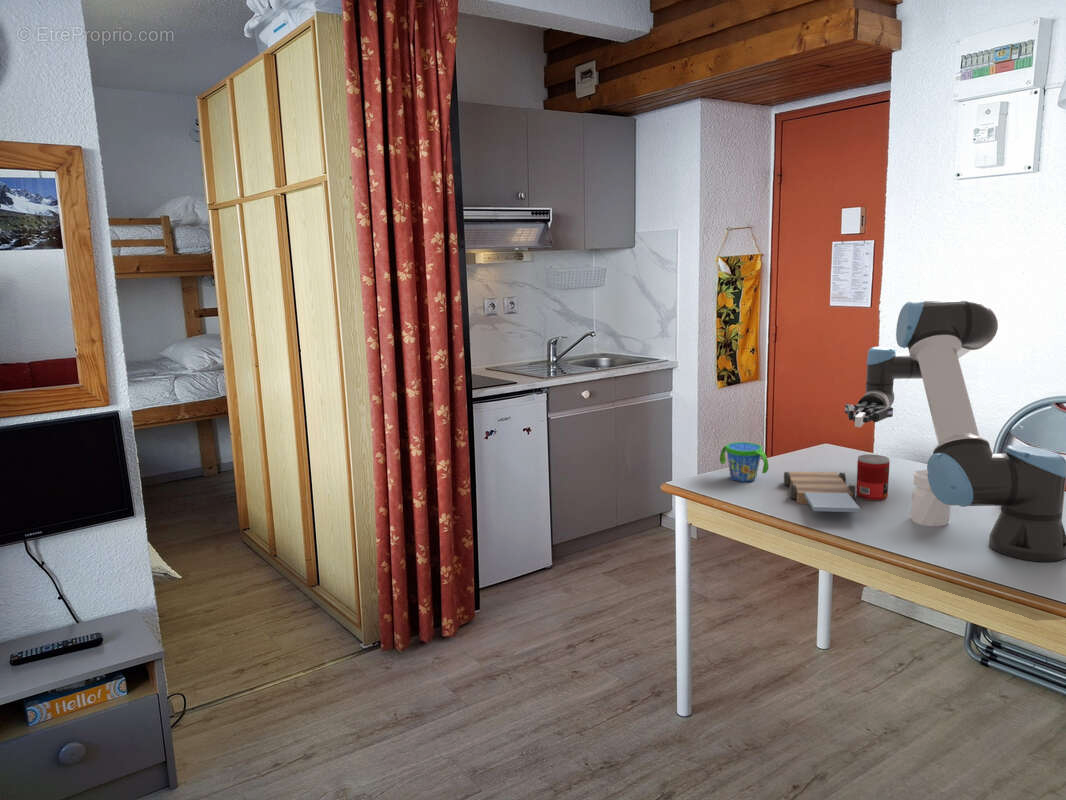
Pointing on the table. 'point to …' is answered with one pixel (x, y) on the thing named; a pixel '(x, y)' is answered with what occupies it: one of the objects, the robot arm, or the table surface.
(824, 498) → the grey flat slab
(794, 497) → the flatbed
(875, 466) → the canned food
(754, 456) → the snack cup
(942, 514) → the vase
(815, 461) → the table surface
